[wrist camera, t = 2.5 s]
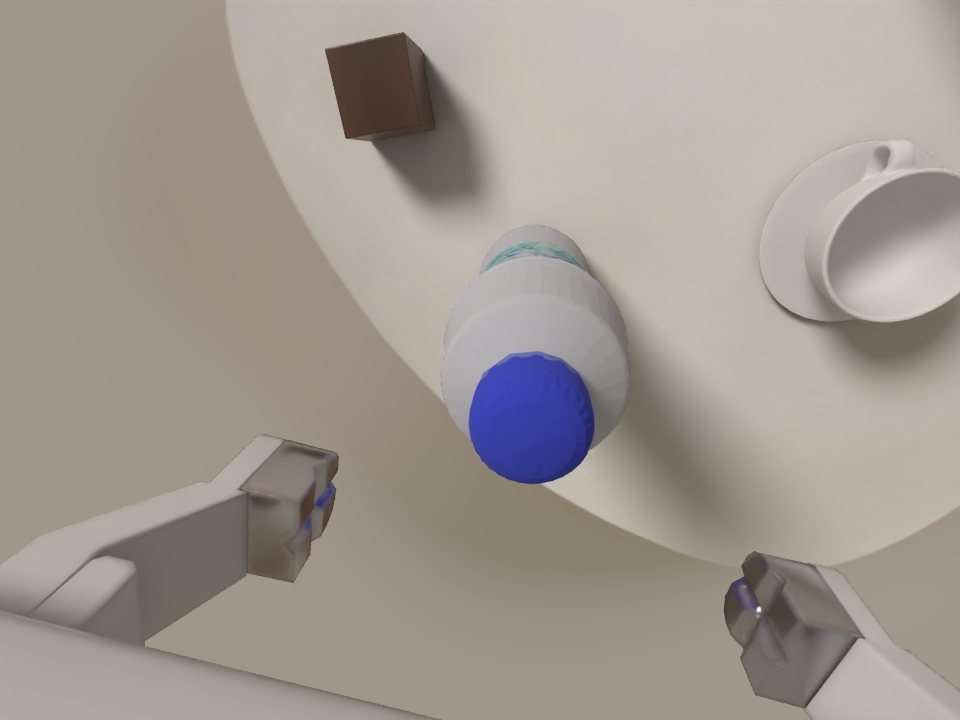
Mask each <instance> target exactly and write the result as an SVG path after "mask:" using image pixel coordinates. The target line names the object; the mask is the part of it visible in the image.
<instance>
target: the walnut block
mask: <svg viewBox="0 0 960 720" xmlns="http://www.w3.org/2000/svg"><path fill="white" fill-rule="evenodd" d="M325 51H326V56H327V60H328V64H329V69H330V73H331V77H332V82H333V86H334V90H335V94H336V99H337V103H338V107H339V112H340V116H341V120H342V125H343V129H344V133H345V138H346V139H354V140H363V141H375V140H380V139H386V138H392V137H397V136H403V135H409V134H414V133H420V132H425V131H431V130H435V123H434V117H433V111H432V105H431V100H430V94H429V88H428V82H427V76H426V70H425V64H424V58H423V52H422V49H421V48H420V47H418V46H417V45H416V44H415V43H414V42H413V41H412V40H411V39H410V38H409V37H408V36H407V35H406V34H405V33H404V32H402V33H398V34H393V35H388V36H383V37H379V38H374V39H369V40H364V41H360V42H355V43H350V44H346V45H341V46H336V47H331V48H327V49H325Z"/></svg>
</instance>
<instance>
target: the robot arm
mask: <svg viewBox="0 0 960 720" xmlns="http://www.w3.org/2000/svg"><path fill="white" fill-rule="evenodd" d="M338 459H339V457H338V455H337V453H336V452H332V451H328V450H325V449H321V448H317V447H313V446H309V445H305V444H302V443H298V442H294V441H290V440H288V441H287V440H285V439H281V438H277V437H273V436H269V435H265V434H263V435H260V436H257V437H256V438H255V439H254V440H253V441H252V442H251V443H250V444H249V445H248V446H247V447H246V448H244V449H243V451H241V452H240V453H239V454H238V455H237V456H236V457H235V458H234V459H233V460H232V461H231V462H230V463H229V464H228V465H227V466H226V467H225V468H224V469H223V470H222V471H221V472H220V473H219V474H218V475H217V476H216V477H215V478H214V479H213V480H212V481H211V482H210V483H207V482H203V481H200V482H198V483H194V484H192V485H188V486H186V487H183V488H180V489H177V490H174V491H171V492H168V493H165V494H162V495H159V496H156V497H153V498H151V499H148V500H144V501H141V502H138V503H136V504H133V505H130V506H127V507H124V508H121V509H118V510H115V511H112V512H109V513H106V514H103V515H100V516H98V517H94V518H91V519H89V520H86V521H83V522H80V523H77V524H74V525H71V526H68V527H65V528H62V529H59V530H56V531H53V532H50V533H47V534H44V535H42V536H39V537H38V538H37V539H35V540H34V541H33V542H31V543H30V544H29V545H27V546H26V547H25V548H23V549H22V550H21V551H19V552H18V553H17V554H16V555H14V556H13V557H12V558H10V559H9V560H7V561H6V562H5V563H3V564H2V565H1V566H0V720H440V719H436V718H432V717H428V716H424V715H420V714H416V713H412V712H408V711H404V710H400V709H396V708H392V707H388V706H384V705H380V704H376V703H372V702H367V701H364V700H360V699H356V698H351V697H348V696H343V695H340V694H336V693H331V692H327V691H323V690H319V689H315V688H311V687H307V686H303V685H299V684H295V683H291V682H287V681H283V680H279V679H275V678H271V677H266V676H263V675H259V674H255V673H251V672H247V671H242V670H239V669H234V668H231V667H226V666H222V665H218V664H214V663H210V662H206V661H202V660H198V659H194V658H190V657H186V656H182V655H178V654H174V653H170V652H166V651H161V650H158V649H154V648H150V647H146V646H145V641H146V640H147V639H149V638H150V637H152V636H154V635H155V634H157V633H158V632H160V631H161V630H163V629H164V628H166V627H167V626H169V625H171V624H172V623H174V622H175V621H177V620H178V619H180V618H181V617H183V616H185V615H186V614H188V613H189V612H191V611H192V610H194V609H196V608H197V607H199V606H200V605H202V604H203V603H205V602H207V601H208V600H210V599H211V598H213V597H214V596H216V595H217V594H219V593H220V592H222V591H224V590H225V589H227V588H228V587H230V586H231V585H233V584H235V583H236V582H238V581H239V580H241V579H242V578H244V577H245V576H246V573H249V574H254V575H258V576H263V577H268V578H273V579H278V580H282V581H287V582H291V583H294V581H295V579H296V578H297V576H298V574H299V573H300V571H301V569H302V567H303V566H304V564H305V562H306V561H307V559H308V557H309V556H310V549H311V541H313V540H315V539H317V538H319V537H320V536H321V535H322V533H323V531H324V529H325V527H326V525H327V523H328V520H329V518H330V515H331V512H332V509H333V504H334V500H335V492H336V488H335V487H334V485H333V483H332V482H331V480H332V479H333V477H334V476H335V474H336V473H337V471H338ZM741 567H742V570H743V573H744V577H742V578H741V579H739V580H737V581H735V582H733V583H732V584H731V586H730V588H729V590H728V592H727V594H726V596H725V604H724V614H725V620H726V624H727V627H728V630H729V632H730V635H731V636H732V637H733V638H734V639H735V640H736V641H737V642H738V643H739V644H740V645H741V646H742V647H743V652H742V655H741V657H740V659H741V661H742V664H743V667H744V669H745V671H746V674H747V676H748V679H749V681H750V683H751V686H752V688H753V691H754V693H755V695H757V696H761V697H764V698H768V699H772V700H775V701H779V702H783V703H786V704H790V705H794V706H798V707H801V708H805V710H804V712H805V713H806V714H807V715H808V716H809V718H810V719H811V720H960V689H959V688H957V687H956V686H955V685H953V684H952V683H951V682H949V681H948V680H947V679H945V678H944V677H943V676H941V675H940V674H939V673H938V672H936V671H935V670H934V669H932V668H931V667H930V666H928V665H927V664H926V663H924V662H923V661H922V660H921V659H919V658H918V657H916V656H915V655H914V654H913V653H911V652H910V651H909V650H907V649H903V648H899V647H898V646H897V644H896V643H895V642H894V640H893V639H892V638H891V636H890V635H889V634H888V632H887V631H886V630H885V628H884V627H883V626H882V625H881V623H880V622H879V621H878V619H877V618H876V617H875V615H874V614H873V612H872V611H871V610H870V608H869V607H868V606H867V605H866V603H865V602H864V600H863V599H862V598H861V596H860V595H859V594H858V592H857V591H856V590H855V588H854V587H853V586H852V585H851V583H850V582H849V581H848V579H847V578H846V576H845V575H844V574H842V573H841V572H839V571H838V570H837V569H835V568H830V567H825V566H821V565H816V564H811V563H802V562H798V561H794V560H789V559H785V558H781V557H777V556H772V555H768V554H764V553H759V552H755V551H754V552H752V553H751V554H750V555H748V556H747V557H746V559H745V561H744V562H743V564H742V566H741Z"/></svg>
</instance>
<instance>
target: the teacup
mask: <svg viewBox="0 0 960 720" xmlns="http://www.w3.org/2000/svg"><path fill="white" fill-rule="evenodd" d="M759 263H760V268H761V273H762V276H763V279H764V281H765V284H766V286H767V288H768V289H769V291H770V292H771V294H772V295H773V296H774V297H775V299H776V300H777V301H778V302H779V303H780V304H782V305H783V306H784V307H785V308H787V309H788V310H790V311H791V312H793V313H795V314H798V315H800V316H802V317H805V318H809V319H813V320H818V321H831V322H836V321H847V320H853V319H861V320H865V321H870V322H878V323H891V322H900V321H905V320H909V319H913V318H916V317H919V316H922V315H924V314H927V313H929V312H931V311H933V310H935V309H937V308H939V307H941V306H942V305H944V304H945V303H947V302H948V301H950V300H951V299H952V298H954V297H955V296H956V295H958V294H959V293H960V173H959V172H956V171H952V170H948V169H944V168H943V166H942V165H941V164H940V163H939V162H938V161H937V160H936V159H935V158H934V157H933V156H932V155H930V154H929V153H928V152H926V151H924V150H923V149H921V148H918V147H916V146H914V145H913V143H912V142H911V141H910V140H907V139H895V140H872V141H865V142H860V143H855V144H852V145H848V146H846V147H843V148H840V149H838V150H835V151H833V152H831V153H829V154H827V155H825V156H824V157H822V158H820V159H818V160H817V161H815V162H814V163H812V164H811V165H809V166H808V167H807V168H806V169H804V170H803V171H802V172H801V173H800V174H798V175H797V176H796V177H795V178H794V179H793V180H792V181H791V182H790V183H789V185H788V186H787V187H786V188H785V189H784V190H783V192H782V193H781V194H780V196H779V197H778V199H777V200H776V202H775V203H774V205H773V207H772V208H771V210H770V212H769V214H768V217H767V219H766V221H765V224H764V227H763V230H762V234H761V239H760V245H759Z"/></svg>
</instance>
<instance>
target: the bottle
mask: <svg viewBox="0 0 960 720" xmlns="http://www.w3.org/2000/svg"><path fill="white" fill-rule="evenodd" d="M441 386H442V391H443V397H444V400H445V403H446V406H447V409H448V412H449V414H450V415H451V417H452V419H453V420H454V422H455V424H456V425H457V427H458V428H459V429H460V430H461V431H462V433H463V434H464V435H465V436H466V437H467V438H468V439H469V440H470V441H471V442H473V445H474V448H475V451H476V452H477V454H478V455H479V456H480V458H481V460H482V461H483V462H484V463H485V464H486V465H487V466H488V468H490V469H491V470H493V471H494V472H496V473H497V474H498V475H500V476H502V477H505V478H506V479H508V480H513V481H516V482H519V483H527V484H539V483H545V482H550V481H554V480H556V479H558V478H561V477H563V476H565V475H566V474H568V473H570V472H572V471H573V470H574V469H575V468H576V467H577V466H578V465H579V464H580V463H581V462H582V461H583V459H584V458H585V457H586V455H587V453H588V451H589V450H590V449H592V448H594V447H595V446H597V445H598V444H599V443H600V442H601V441H602V440H603V439H604V438H605V437H607V435H608V434H609V433H610V432H611V431H612V430H613V428H614V427H615V425H616V424H617V423H618V421H619V419H620V417H621V415H622V413H623V411H624V409H625V406H626V402H627V399H628V395H629V390H630V368H629V361H628V353H627V335H626V329H625V325H624V321H623V318H622V316H621V314H620V311H619V309H618V307H617V306H616V304H615V302H614V301H613V299H612V298H611V297H610V295H609V294H608V293H607V292H606V291H605V289H604V288H603V287H602V286H601V285H600V284H599V282H598V281H597V280H595V279H594V278H593V277H592V276H591V275H590V274H589V269H588V266H587V262H586V260H585V257H584V255H583V254H582V252H581V250H580V249H579V247H578V246H577V245H576V243H575V242H574V241H573V240H572V239H571V238H570V237H568V236H567V235H565V234H563V233H561V232H560V231H558V230H556V229H553V228H549V227H546V226H542V225H527V226H524V227H521V228H518V229H515V230H513V231H511V232H509V233H507V234H505V235H504V236H502V237H501V238H500V239H498V240H497V241H496V242H495V243H494V244H493V246H492V247H491V249H490V250H489V252H488V253H487V255H486V257H485V259H484V261H483V264H482V266H481V270H480V275H479V277H478V278H477V279H476V280H475V281H474V282H473V283H472V284H471V285H470V286H469V287H468V288H467V290H466V291H465V292H464V294H463V295H462V296H461V297H460V299H459V300H458V302H457V303H456V305H455V307H454V308H453V310H452V312H451V315H450V317H449V320H448V322H447V326H446V331H445V337H444V355H443V364H442V373H441Z"/></svg>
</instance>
